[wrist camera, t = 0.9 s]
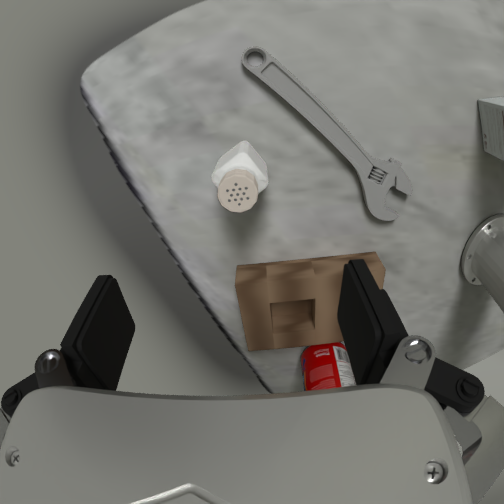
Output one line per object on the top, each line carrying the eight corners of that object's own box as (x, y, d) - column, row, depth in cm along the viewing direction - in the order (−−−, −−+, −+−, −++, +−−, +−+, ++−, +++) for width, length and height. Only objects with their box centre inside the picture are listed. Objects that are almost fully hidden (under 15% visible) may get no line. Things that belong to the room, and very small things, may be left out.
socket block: (375, 251, 37) (385, 269, 33) (365, 317, 43) (372, 336, 40) (236, 265, 38) (235, 285, 35) (249, 330, 44) (248, 351, 41)
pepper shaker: (245, 137, 30) (241, 159, 22) (268, 165, 31) (273, 198, 23) (216, 159, 31) (201, 190, 23) (239, 186, 33) (234, 226, 25)
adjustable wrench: (235, 60, 26) (234, 59, 24) (281, 22, 23) (283, 19, 22) (377, 222, 35) (382, 228, 34) (416, 191, 33) (422, 197, 31)
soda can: (351, 335, 45) (372, 416, 33) (339, 364, 49) (354, 438, 37) (304, 336, 45) (315, 421, 32) (296, 365, 49) (304, 443, 37)
